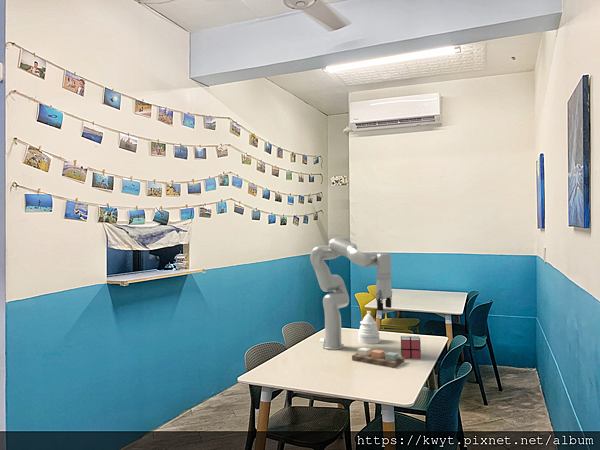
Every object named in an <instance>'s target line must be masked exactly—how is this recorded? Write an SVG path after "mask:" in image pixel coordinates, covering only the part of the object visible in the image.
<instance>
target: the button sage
mask: <svg viewBox="0 0 600 450" xmlns="http://www.w3.org/2000/svg"><path fill="white" fill-rule="evenodd" d="M384 354H385V360H390V361H396V360H398V359H399V357H400V356H399V353H398V352H392V351H388V352H386V353H384Z"/></svg>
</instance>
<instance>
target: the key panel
mask: <svg viewBox="0 0 600 450" xmlns="http://www.w3.org/2000/svg"><path fill="white" fill-rule="evenodd" d="M385 354H386V353H384V356H385ZM351 361H354V362H360V363H364V364H369V365H375V366H381V367H386V368H391V369H395V368H397V367H399V366H400V365H402V364H404V363H405V359H404V357H401V356H399V359H398V360H396V361H390V360H385V357H383V358H381V359H379V358H373V357H371V355H368V356H362V355H358V352H357V353H354V354H353V355H351Z"/></svg>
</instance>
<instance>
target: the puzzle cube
mask: <svg viewBox="0 0 600 450" xmlns="http://www.w3.org/2000/svg"><path fill="white" fill-rule="evenodd" d="M421 346H422V345H421V337H420V336H419V335H401V336H400V355H401V356H400V357H404V360H421V359H422V353H421V351H422V350H421V348H422V347H421Z"/></svg>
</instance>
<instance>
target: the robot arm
mask: <svg viewBox="0 0 600 450" xmlns="http://www.w3.org/2000/svg"><path fill="white" fill-rule="evenodd" d="M341 256H344V257H345V258H347V259H349V261H350V262H351V263H353V264H356V265H358V266H360V267H363V268H369V267H376V285H375V298H376V299H375V300H376V310H377V311H383V310H384V305H385V308H388V309H391V308H392V300H393V299H392V297H393V290H392V281H391V280H392V255H391V254H390V253H387V252H386V253H385V252H382V253H380V252H364V251H363V252H362V251H360V250H358V246H357V244H356V243H353V242H352V241H351V240H350V239H349V238H348V237H346V236H340V237H339V236H338V237H333V238H331V239H330V240H329V242H328V245H318V246H315V247H314V248H312V250H311V253H310V256H309V257H310V258H309V259H310V263H311V265H312V267H313V269H314V272H315V276H316V278H317V281H318V284H319V287H320V290H322V292H324V293H325V292H327V293H326V295H324V296H323V298H322V306H323V312H324V338H323V337H321V338H320V340H319V342H320V343H323V345H322V349H325V350H329V351H331V350H332V351H333V350H334V351H336V350H343V349H344V348H345V344H344V343H342V315H341V312H340V309H342V308H346V307H348V305H349V303H350V296H349V294H348V290H347V287H346V284H345V281H344V279H343V278H342V276H340V275H339V274H332V272H331V271H330V268H329V265H328V264H327V263H326V262H325V260H328V261H329V260H335V259H336V258H338V257H341ZM328 292H330V293H328ZM384 300H385V303H384V302H383V301H384Z"/></svg>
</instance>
